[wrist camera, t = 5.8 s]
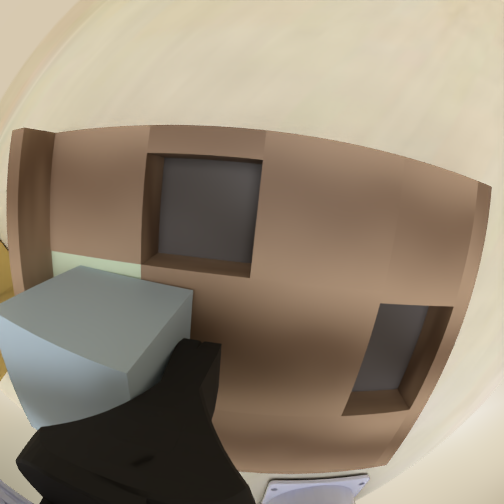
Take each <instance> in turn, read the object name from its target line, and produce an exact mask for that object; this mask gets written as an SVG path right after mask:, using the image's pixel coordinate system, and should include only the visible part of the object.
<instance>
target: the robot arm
mask: <svg viewBox="0 0 504 504" xmlns="http://www.w3.org/2000/svg"><path fill="white" fill-rule="evenodd" d="M221 346H222V344H220V343H213V342H206V341H204V342H203V343H202V342H201V341H199V340H193V339H187V338H183V339H182V340H181V341H179V342H178V344H177V345H176V346H175V348H174V350H173V352H172V355H171V357H170V359H169V362H168V364H167V366H166V369H165V371H164V373H163V376H162V378H161V380H160V382H158V383H157V384H156V385H154V386H153V387H151V388H150V389H148V390H147V391H145V392H144V393H142V394H140V395H139V396H137V397H135V398H133V399H132V400H130V401H127V402H125V403H123V404H121V405H119V406H117V407H115V408H112V409H110V410H108V411H105V412H102V413H100V414H97V415H94V416H91V417H87V418H84V419H80V420H77V421H72V422H67V423H62V424H57V425H51V426H44V427H40V428H39V429H38V431H37V432H36V433H35V434H34V435H33V437H32V438H31V439H30V441H29V442H28V443H27V445H26V446H25V447H24V449H23V450H22V452H21V453H20V455H19V456H18V457H17V459H16V464H17V466H18V469H19V470H20V472H21V473H22V474H23V476H24V477H25V478H26V479H27V480H28V481H29V482H30V484H31V485H32V486H33V487H34V488H35V489H36V490H37V491H38V492H39V493H40V494H41V495H42V496H43V499H42V500H41V502H40V504H256V503H255V500H254V498H253V496H252V493H251V490H250V488H249V486H248V484H247V483H246V482H245V480H244V479H243V478H242V476H241V475H240V473H239V472H238V470H237V469H236V467H235V466H234V464H233V463H232V461H231V459H230V458H229V456H228V454H227V453H226V451H225V449H224V447H223V445H222V443H221V441H220V439H219V437H218V435H217V433H216V430H215V428H214V426H213V423H212V417H213V414H214V411H215V406H216V400H217V394H218V388H219V375H220V360H221ZM369 479H370V478H369V475H360V476H352V477H344V478H333V479H320V480H274V481H271V482H269V484H268V486H267V489H266V492H265V494H264V497H263V500H262V502H261V504H355V501H354V497H355V496H356V495H357V494H358V493H359V492H360V490H361V489H362V488H363V487H364V486H365V484H366V483H367V482H368V481H369ZM0 504H33V503H32V502H30V501H29V500H27V499H26V498H24V497H23V496H22V495H20V494H19V493H17V492H16V491H15V490H13V489H12V488H10V487H9V486H8V485H7V484H5V483H4V482H3V481H2V480H0Z"/></svg>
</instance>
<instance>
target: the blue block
mask: <svg viewBox="0 0 504 504" xmlns="http://www.w3.org/2000/svg"><path fill="white" fill-rule="evenodd" d="M192 300H193V290H189V289H184V288H179V287H174V286H169V285H165V284H160V283H155V282H151V281H146V280H141V279H137V278H133V277H128V276H124V275H119V274H115V273H111V272H107V271H103V270H99V269H94V268H90V267H86V266H82V265H80V266H77V267H75V268H73V269H71V270H68V271H66V272H64V273H62V274H60V275H57V276H55V277H53V278H51V279H49V280H47V281H45V282H42V283H40V284H38V285H36V286H34V287H32V288H30V289H28V290H26V291H24V292H22V293H20V294H18V295H16V296H14V297H12V298H10V299H8V300H6V301H4V302H2V303H0V350H1V353H2V356H3V359H4V362H5V365H6V368H7V371H8V374H9V376H10V379H11V382H12V384H13V387H14V389H15V392H16V394H17V396H18V399H19V401H20V403H21V405H22V408H23V410H24V412H25V414H26V416H27V418H28V420H29V422H30V424H31V426H32V427H34V428H35V429H37V430H38V429H39V428H40V427H44V426H51V425H57V424H62V423H67V422H72V421H77V420H80V419H84V418H87V417H91V416H94V415H97V414H100V413H102V412H105V411H108V410H110V409H112V408H115V407H117V406H119V405H121V404H123V403H125V402H127V401H130V400H132V399H133V398H135V397H137V396H139V395H140V394H142V393H144V392H145V391H147V390H148V389H150V388H151V387H153V386H154V385H156V384H157V383H158V382H160V380H161V378H162V376H163V373H164V371H165V369H166V366H167V364H168V362H169V359H170V357H171V355H172V352H173V350H174V348H175V346H176V345H177V344H178V342H179V341H181V340H182V339H183V338H187V339H190V329H191V314H192Z"/></svg>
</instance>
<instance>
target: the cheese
mask: <svg viewBox="0 0 504 504" xmlns="http://www.w3.org/2000/svg"><path fill="white" fill-rule="evenodd" d="M14 296H15V295H14V289H13V283H12V276H11V268H10V259H9V251H8V250H7V249H6V248H5V246H4V245H3V244H2V243H1V242H0V303H2V302H4V301H6V300H8V299H10V298H12V297H14ZM6 372H7V368H6V365H5V362H4V359H3V356H2V353H1V350H0V381H1V379H2V378H3V376H4V375H5V373H6Z"/></svg>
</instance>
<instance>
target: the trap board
mask: <svg viewBox="0 0 504 504" xmlns="http://www.w3.org/2000/svg"><path fill="white" fill-rule="evenodd" d="M491 189H492V187H491V186H489V185H486V184H484V183H481V182H479V181H476V180H474V179H471V178H468V177H466V176H463V175H460V174H457V173H455V172H452V171H449V170H446V169H443V168H440V167H437V166H434V165H431V164H427V163H424V162H421V161H417V160H414V159H411V158H407V157H403V156H400V155H396V154H392V153H388V152H384V151H380V150H376V149H372V148H368V147H363V146H359V145H354V144H349V143H344V142H339V141H334V140H328V139H323V138H317V137H311V136H304V135H298V134H291V133H283V132H275V131H266V130H257V129H246V128H233V127H218V126H195V125H143V126H120V127H105V128H94V129H83V130H75V131H67V132H59V133H53V132H47V131H41V130H35V129H29V128H21V129H17V130H13V131H12V137H11V145H10V153H9V163H8V177H7V235H8V249H9V259H10V268H11V276H12V283H13V289H14V295H15V296H16V295H18V294H20V293H22V292H24V291H26V290H28V289H30V288H32V287H34V286H36V285H38V284H40V283H42V282H45V281H47V280H49V279H51V278H53V277H55V276H57V275H60V274H62V273H64V272H66V271H68V270H71V269H73V268H75V267H77V266H80V265H82V266H86V267H90V268H94V269H99V270H103V271H107V272H111V273H115V274H119V275H124V276H128V277H133V278H137V279H141V280H146V281H151V282H155V283H160V284H165V285H169V286H174V287H179V288H184V289H189V290H193V300H192V314H191V329H190V339H193V340H199V341H201V342H202V343H203V342H204V341H206V342H213V343H220V344H222V346H221V360H220V375H219V388H218V394H217V400H216V406H215V411H214V414H213V417H212V423H213V426H214V428H215V430H216V433H217V435H218V437H219V439H220V441H221V443H222V445H223V447H224V449H225V451H226V453H227V454H228V456H229V458H230V459H231V461H232V463H233V464H234V466H235V467H236V469H237V470H238V471H242V472H256V473H279V474H302V473H325V472H338V471H348V470H357V469H364V468H371V467H377V466H383V465H387V463H388V462H389V461H390V459H391V458H392V456H393V455H394V454H395V452H396V451H397V449H398V448H399V447H400V445H401V444H402V442H403V441H404V439H405V438H406V436H407V435H408V433H409V431H410V430H411V428H412V427H413V425H414V423H415V422H416V420H417V418H418V417H419V415H420V413H421V412H422V410H423V408H424V406H425V405H426V403H427V401H428V399H429V397H430V395H431V394H432V392H433V390H434V388H435V386H436V384H437V382H438V380H439V378H440V376H441V374H442V371H443V369H444V367H445V365H446V363H447V360H448V358H449V356H450V354H451V351H452V349H453V346H454V344H455V341H456V339H457V336H458V334H459V331H460V328H461V326H462V323H463V320H464V317H465V314H466V311H467V308H468V305H469V302H470V299H471V295H472V292H473V288H474V285H475V281H476V277H477V273H478V269H479V265H480V261H481V256H482V251H483V246H484V241H485V236H486V230H487V223H488V216H489V209H490V200H491Z"/></svg>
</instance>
